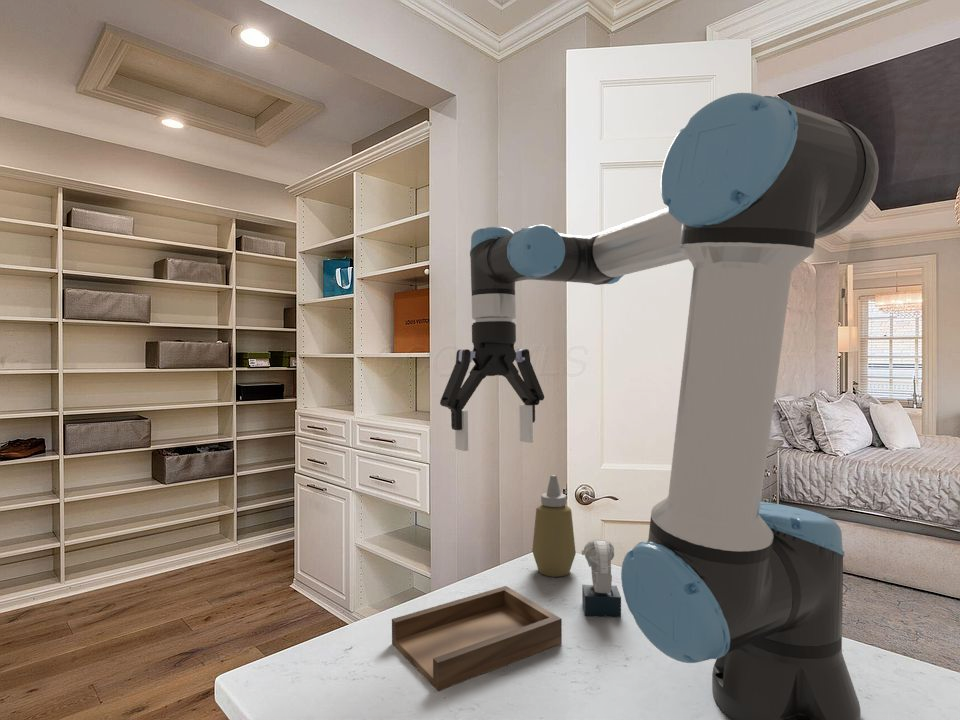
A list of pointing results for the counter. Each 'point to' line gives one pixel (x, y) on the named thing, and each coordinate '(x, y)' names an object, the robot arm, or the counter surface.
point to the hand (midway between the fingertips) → (495, 445)
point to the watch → (600, 581)
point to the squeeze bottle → (553, 533)
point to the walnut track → (474, 635)
